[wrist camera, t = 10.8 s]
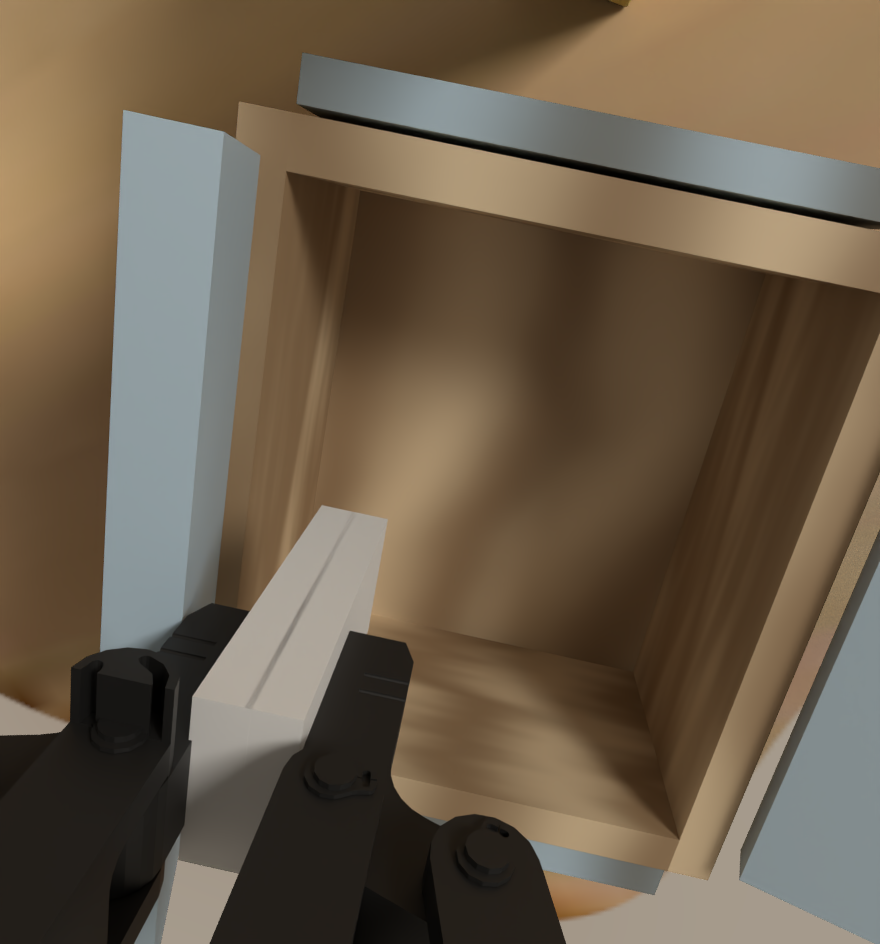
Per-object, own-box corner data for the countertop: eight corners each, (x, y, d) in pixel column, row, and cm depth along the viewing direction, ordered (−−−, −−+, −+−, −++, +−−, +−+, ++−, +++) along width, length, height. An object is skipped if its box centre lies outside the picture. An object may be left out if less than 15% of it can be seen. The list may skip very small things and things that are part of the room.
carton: (269, 634, 30) (176, 791, 22) (339, 107, 24) (244, 39, 15) (643, 717, 30) (695, 910, 22) (821, 204, 23) (998, 190, 15)
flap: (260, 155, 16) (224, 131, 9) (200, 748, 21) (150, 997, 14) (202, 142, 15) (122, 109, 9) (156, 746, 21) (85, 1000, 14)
